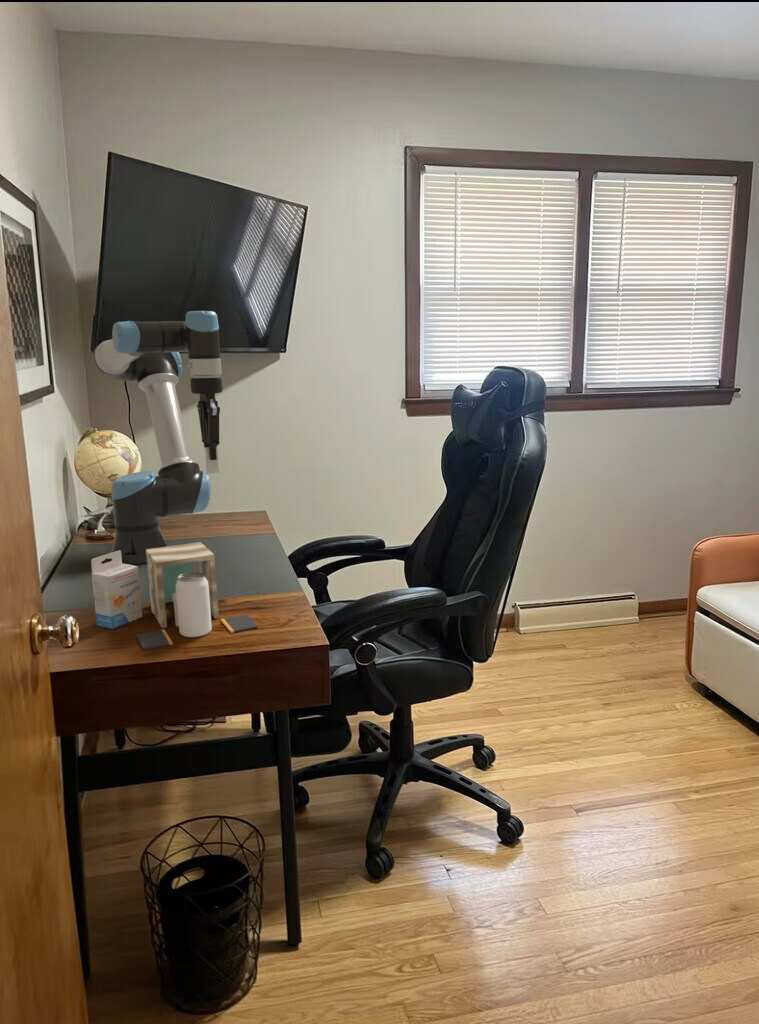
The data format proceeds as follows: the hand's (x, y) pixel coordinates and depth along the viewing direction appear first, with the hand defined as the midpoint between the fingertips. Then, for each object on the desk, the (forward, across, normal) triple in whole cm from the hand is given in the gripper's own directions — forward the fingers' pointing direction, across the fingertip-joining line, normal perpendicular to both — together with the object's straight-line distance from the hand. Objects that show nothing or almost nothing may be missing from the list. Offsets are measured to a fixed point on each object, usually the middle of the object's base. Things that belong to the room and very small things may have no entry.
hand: (212, 472), depth 187 cm
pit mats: (+26, +38, -15) cm, 48 cm away
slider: (+26, +25, -15) cm, 39 cm away
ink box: (+27, +23, -28) cm, 45 cm away
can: (+27, +37, -15) cm, 48 cm away
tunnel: (+26, +26, -15) cm, 40 cm away
